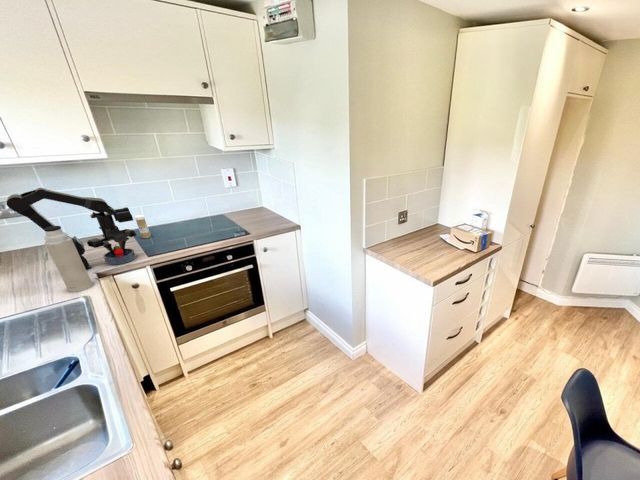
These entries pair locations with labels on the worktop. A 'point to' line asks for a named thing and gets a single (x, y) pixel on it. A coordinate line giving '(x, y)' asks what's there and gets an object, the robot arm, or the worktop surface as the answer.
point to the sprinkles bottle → (142, 226)
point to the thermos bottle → (66, 259)
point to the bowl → (127, 257)
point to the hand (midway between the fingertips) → (118, 253)
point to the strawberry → (118, 251)
